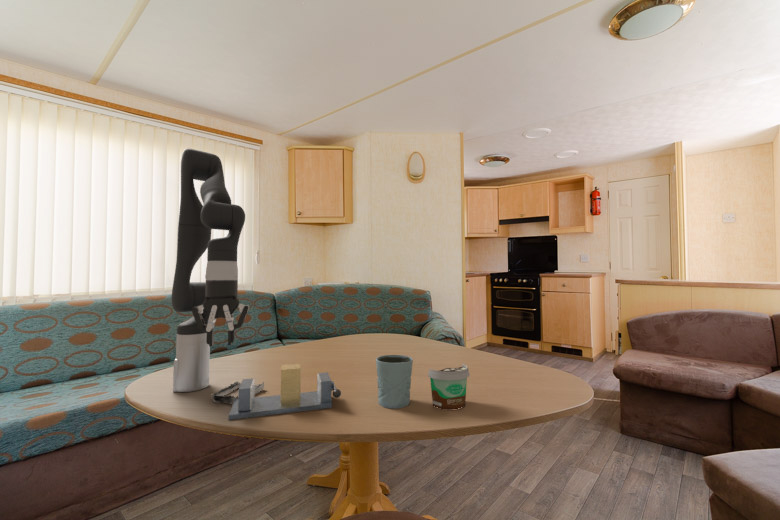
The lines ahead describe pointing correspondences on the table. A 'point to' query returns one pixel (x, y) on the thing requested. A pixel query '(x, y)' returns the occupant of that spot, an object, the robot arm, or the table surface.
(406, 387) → the blue embossed cup
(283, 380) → the brass block
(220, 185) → the robot arm
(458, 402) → the food container
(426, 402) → the table surface
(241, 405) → the sliding jaw
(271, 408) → the vise base
